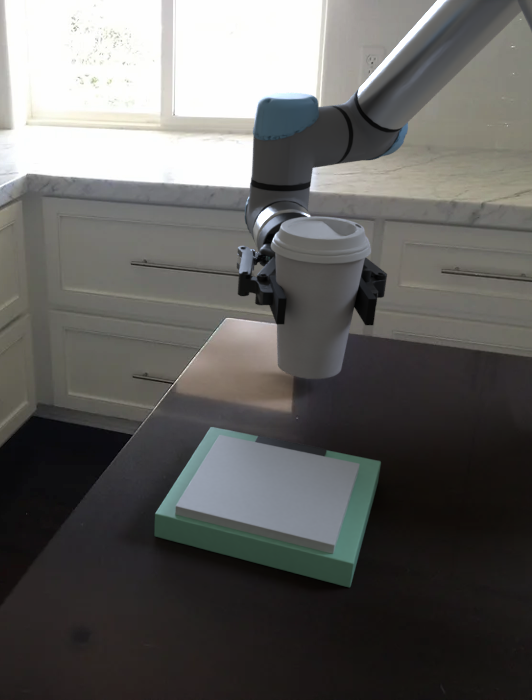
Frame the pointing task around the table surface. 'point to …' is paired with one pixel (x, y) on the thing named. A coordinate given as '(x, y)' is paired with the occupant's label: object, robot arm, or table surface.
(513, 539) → the table surface
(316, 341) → the coffee cup
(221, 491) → the kitchen scale
